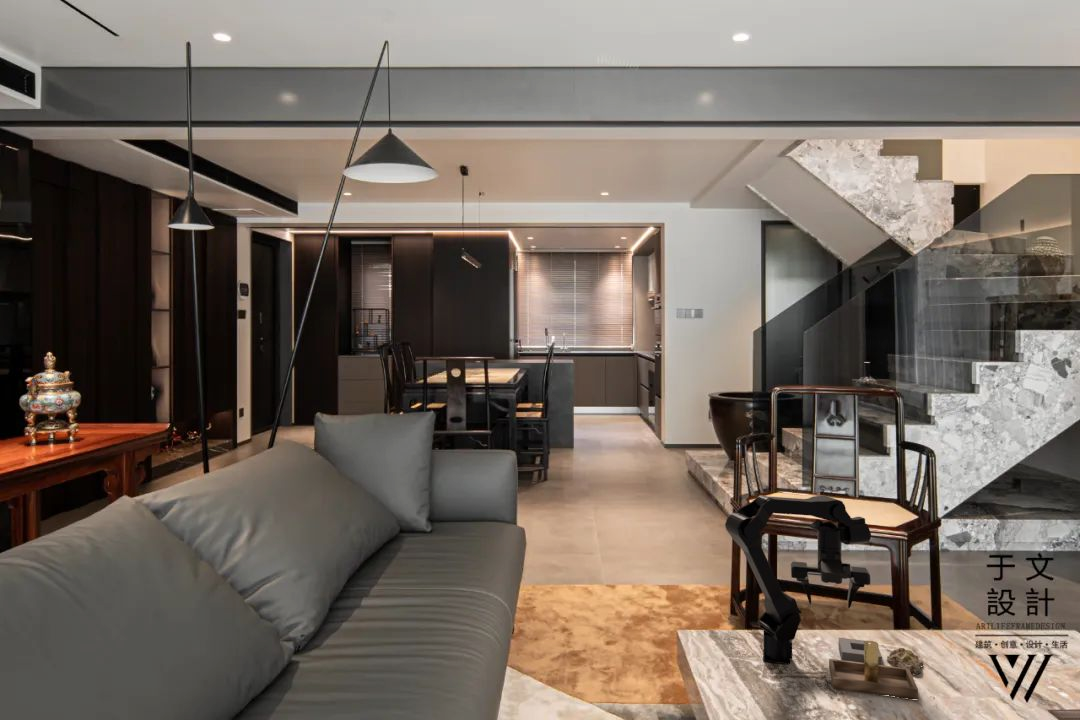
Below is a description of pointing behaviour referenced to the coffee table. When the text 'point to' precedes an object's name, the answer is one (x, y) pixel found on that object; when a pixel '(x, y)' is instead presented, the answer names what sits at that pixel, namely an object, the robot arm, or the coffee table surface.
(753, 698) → the coffee table surface
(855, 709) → the coffee table surface
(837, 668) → the walnut tray
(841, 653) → the block
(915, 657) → the mineral rock
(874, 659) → the brass pin
